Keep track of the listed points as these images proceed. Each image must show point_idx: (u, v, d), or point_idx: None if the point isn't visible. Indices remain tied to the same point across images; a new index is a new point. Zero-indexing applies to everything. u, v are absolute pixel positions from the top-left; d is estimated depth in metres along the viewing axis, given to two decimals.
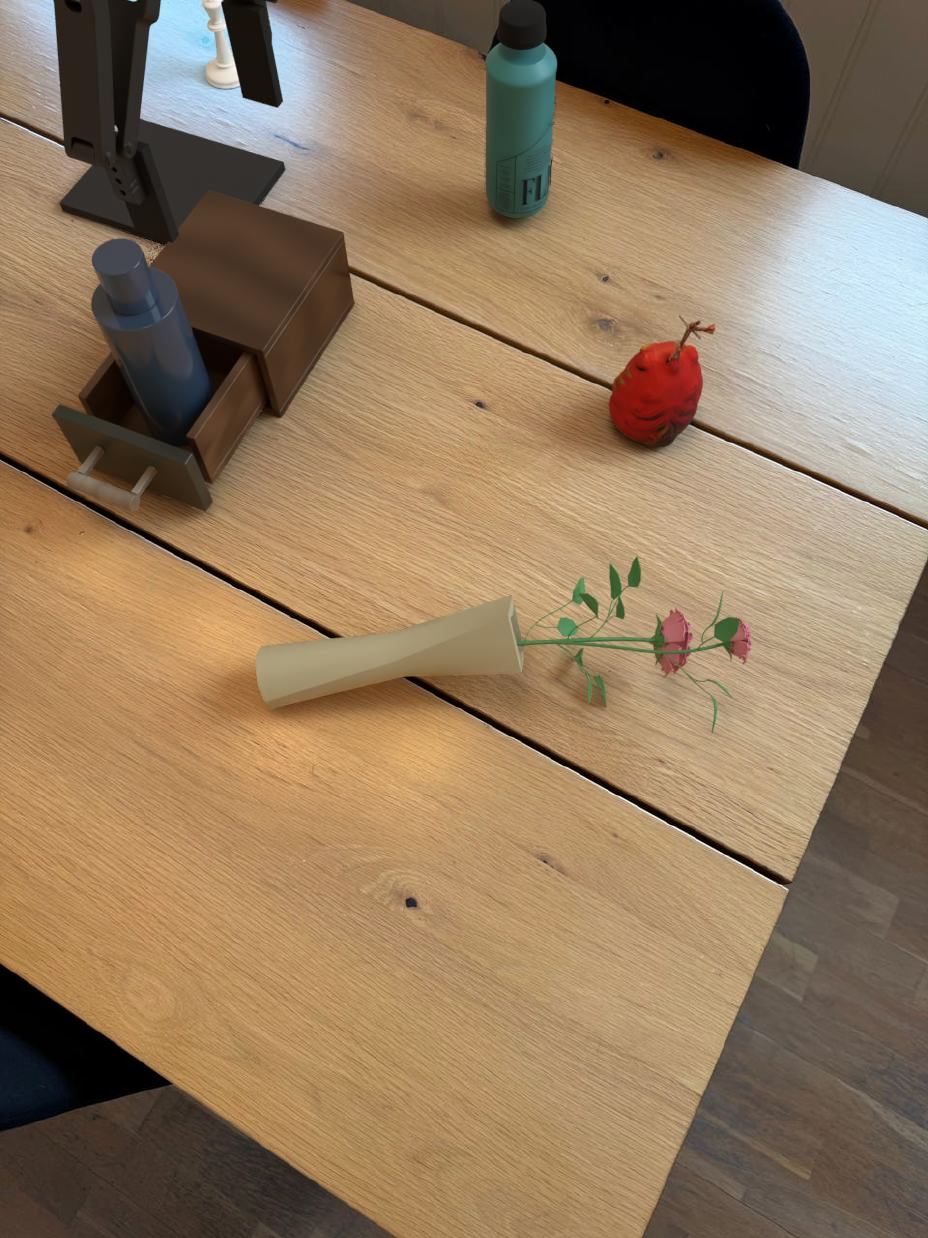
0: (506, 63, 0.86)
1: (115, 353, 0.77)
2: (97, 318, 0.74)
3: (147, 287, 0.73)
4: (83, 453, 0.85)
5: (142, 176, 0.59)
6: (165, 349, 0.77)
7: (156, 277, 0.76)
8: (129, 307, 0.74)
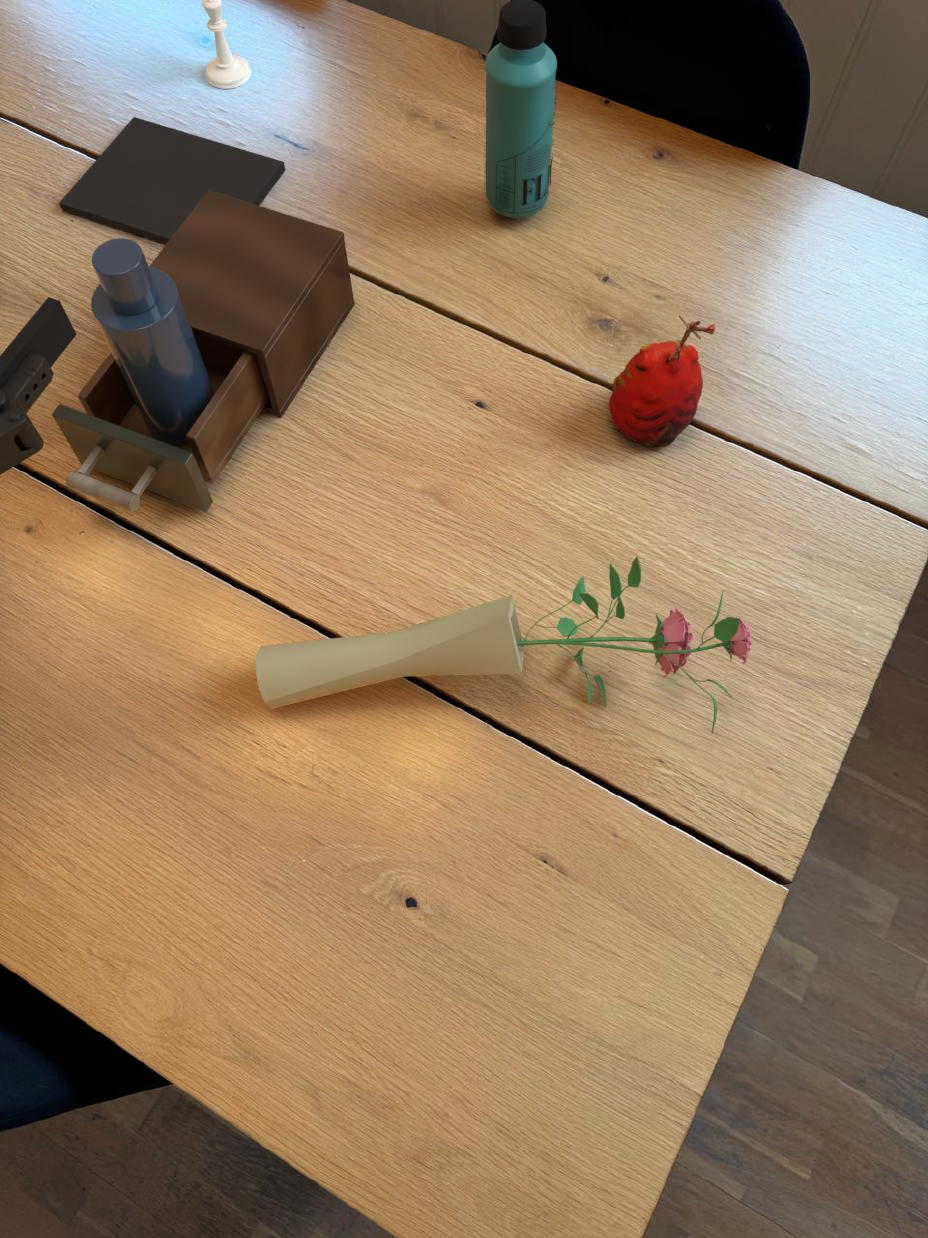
0: (506, 63, 0.86)
1: (115, 353, 0.77)
2: (97, 318, 0.74)
3: (147, 287, 0.73)
4: (83, 453, 0.85)
5: None
6: (165, 349, 0.77)
7: (156, 277, 0.76)
8: (129, 307, 0.74)
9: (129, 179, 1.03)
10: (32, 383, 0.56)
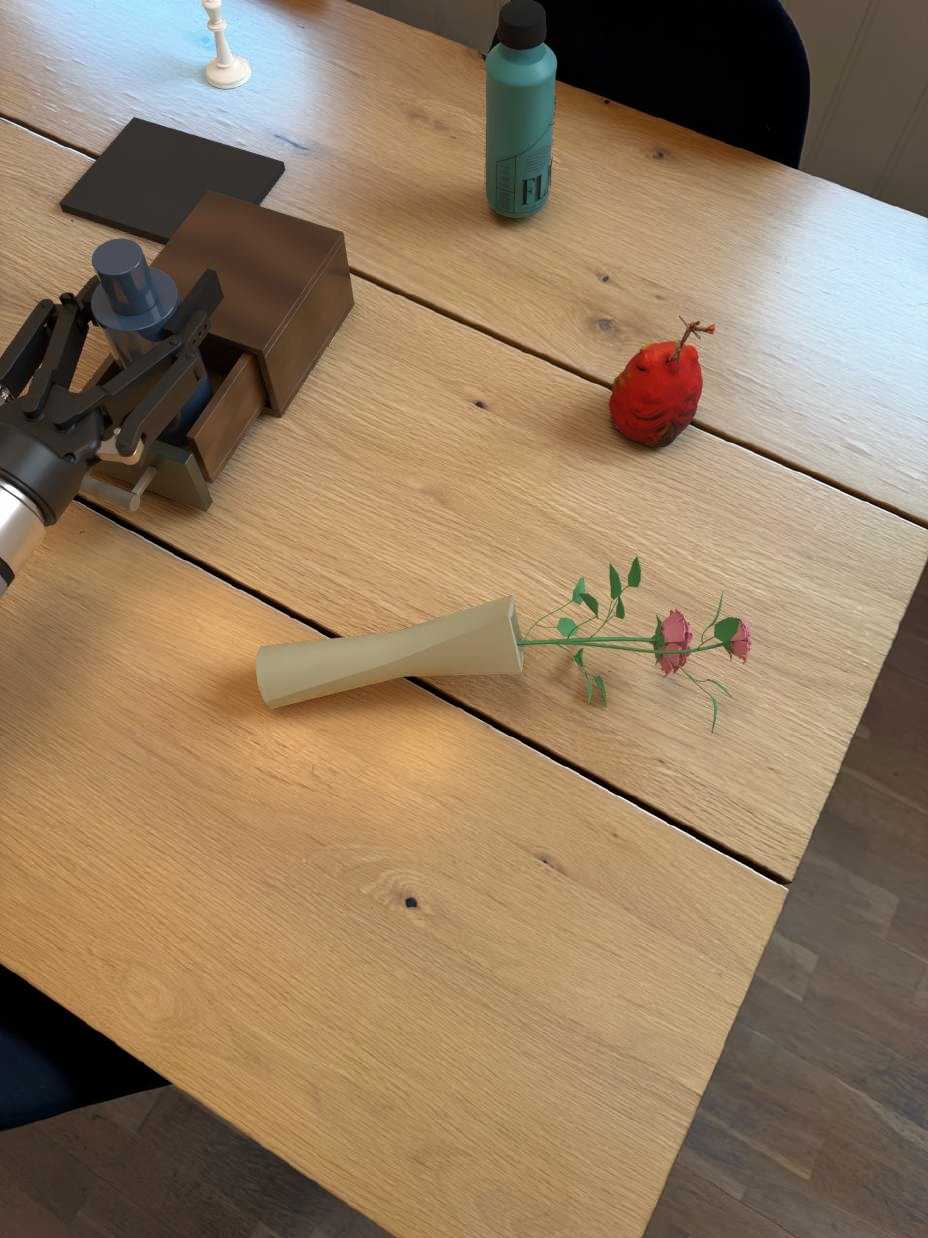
0: (506, 63, 0.86)
1: (115, 353, 0.77)
2: (97, 318, 0.74)
3: (147, 287, 0.73)
4: None
5: None
6: None
7: (156, 277, 0.76)
8: (129, 307, 0.74)
9: (129, 179, 1.03)
10: (198, 331, 0.76)
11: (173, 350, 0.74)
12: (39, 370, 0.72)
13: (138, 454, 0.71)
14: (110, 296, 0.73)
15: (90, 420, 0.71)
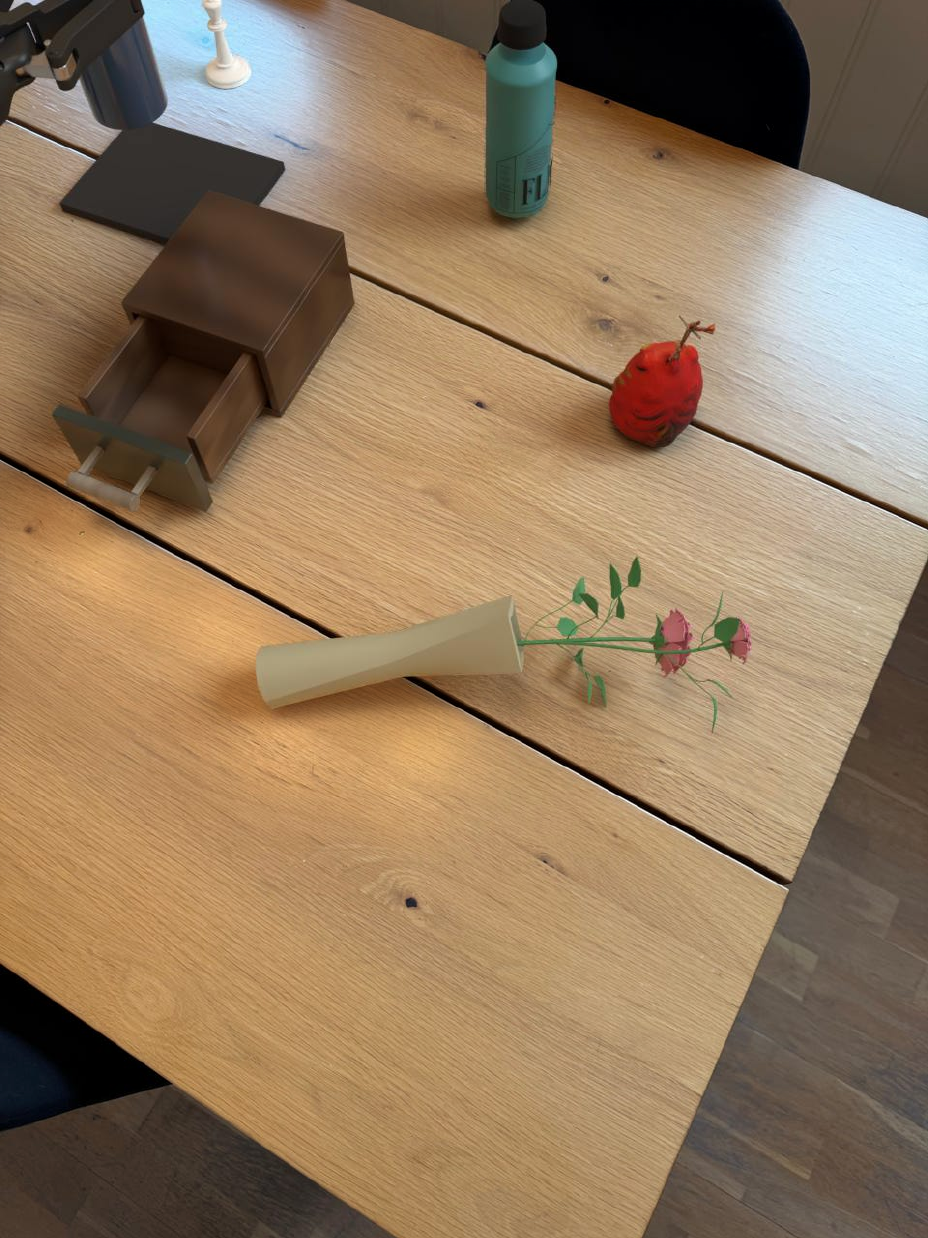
0: (506, 63, 0.86)
1: None
2: None
3: None
4: (83, 453, 0.85)
5: None
6: None
7: None
8: None
9: (129, 179, 1.03)
10: None
11: None
12: None
13: (70, 70, 0.69)
14: None
15: (20, 34, 0.69)
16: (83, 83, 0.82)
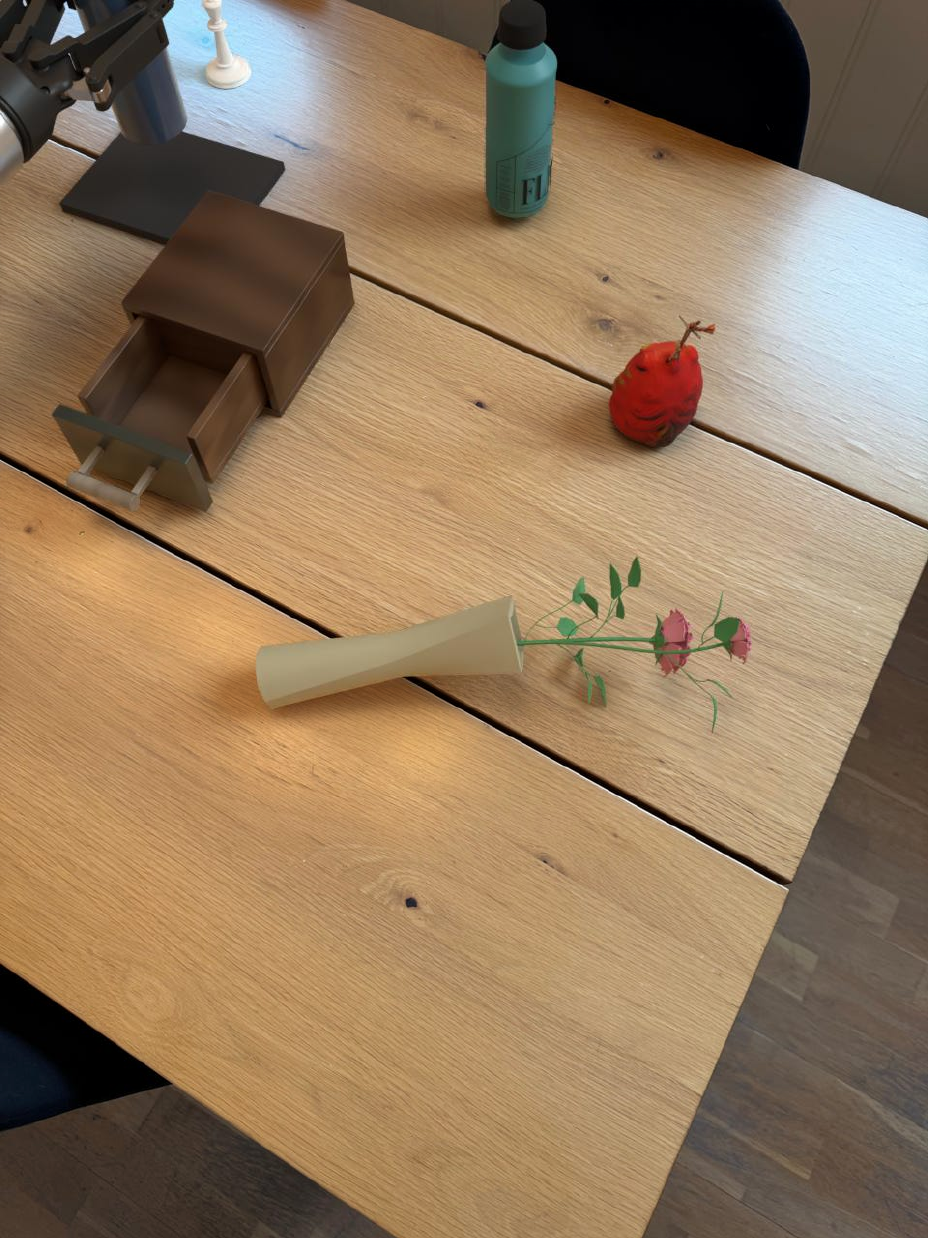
0: (506, 63, 0.86)
1: (88, 28, 0.86)
2: None
3: None
4: (83, 453, 0.85)
5: None
6: None
7: None
8: None
9: (129, 179, 1.03)
10: (162, 2, 0.84)
11: (138, 12, 0.82)
12: (18, 25, 0.81)
13: (106, 93, 0.80)
14: None
15: (63, 63, 0.80)
16: (113, 104, 0.92)
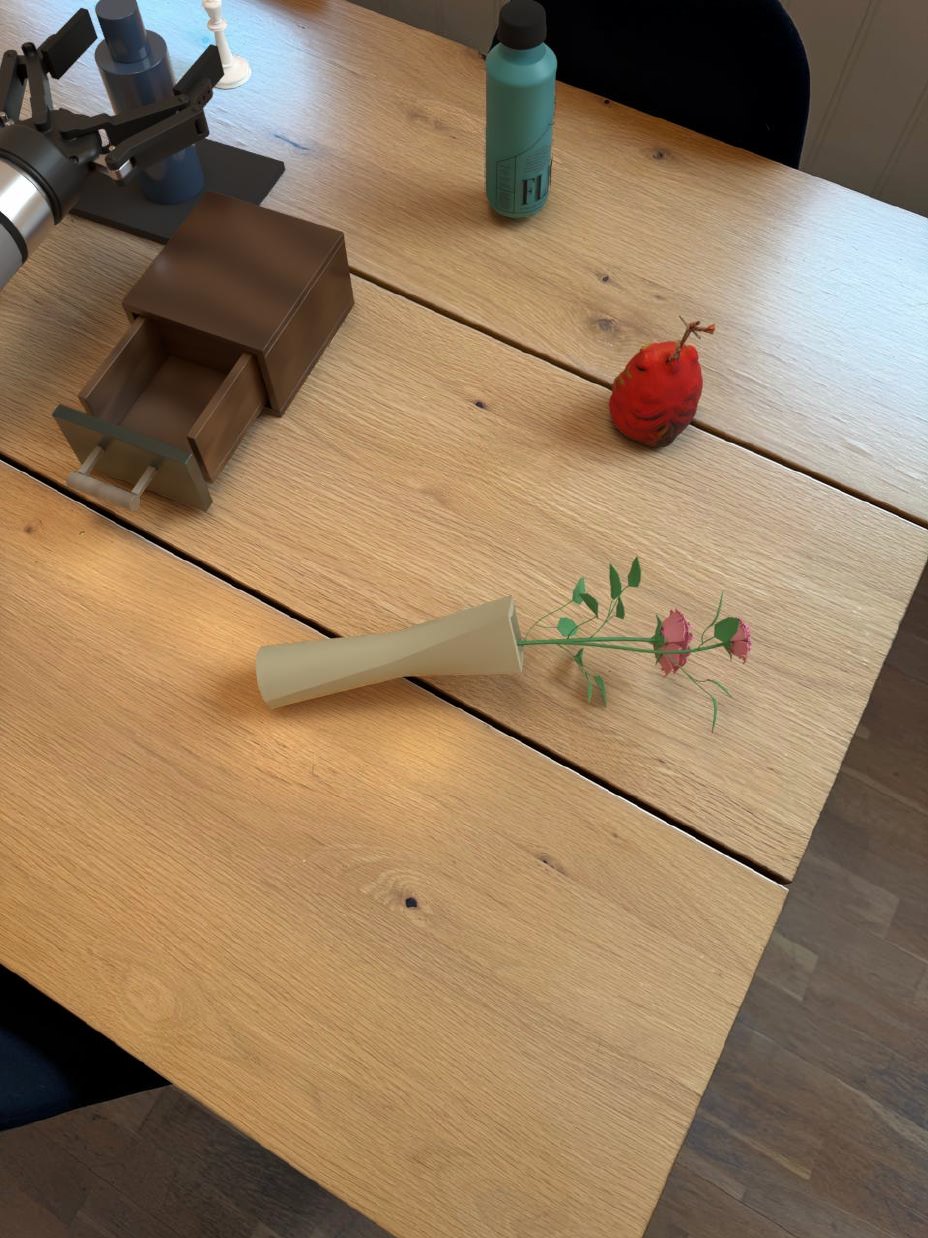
0: (506, 63, 0.86)
1: (114, 102, 0.92)
2: (99, 65, 0.89)
3: (141, 36, 0.88)
4: (83, 453, 0.85)
5: None
6: (156, 97, 0.91)
7: (149, 36, 0.91)
8: (126, 54, 0.88)
9: None
10: (202, 94, 0.88)
11: (178, 105, 0.87)
12: (33, 97, 0.87)
13: (123, 172, 0.85)
14: (110, 43, 0.88)
15: (90, 133, 0.85)
16: None
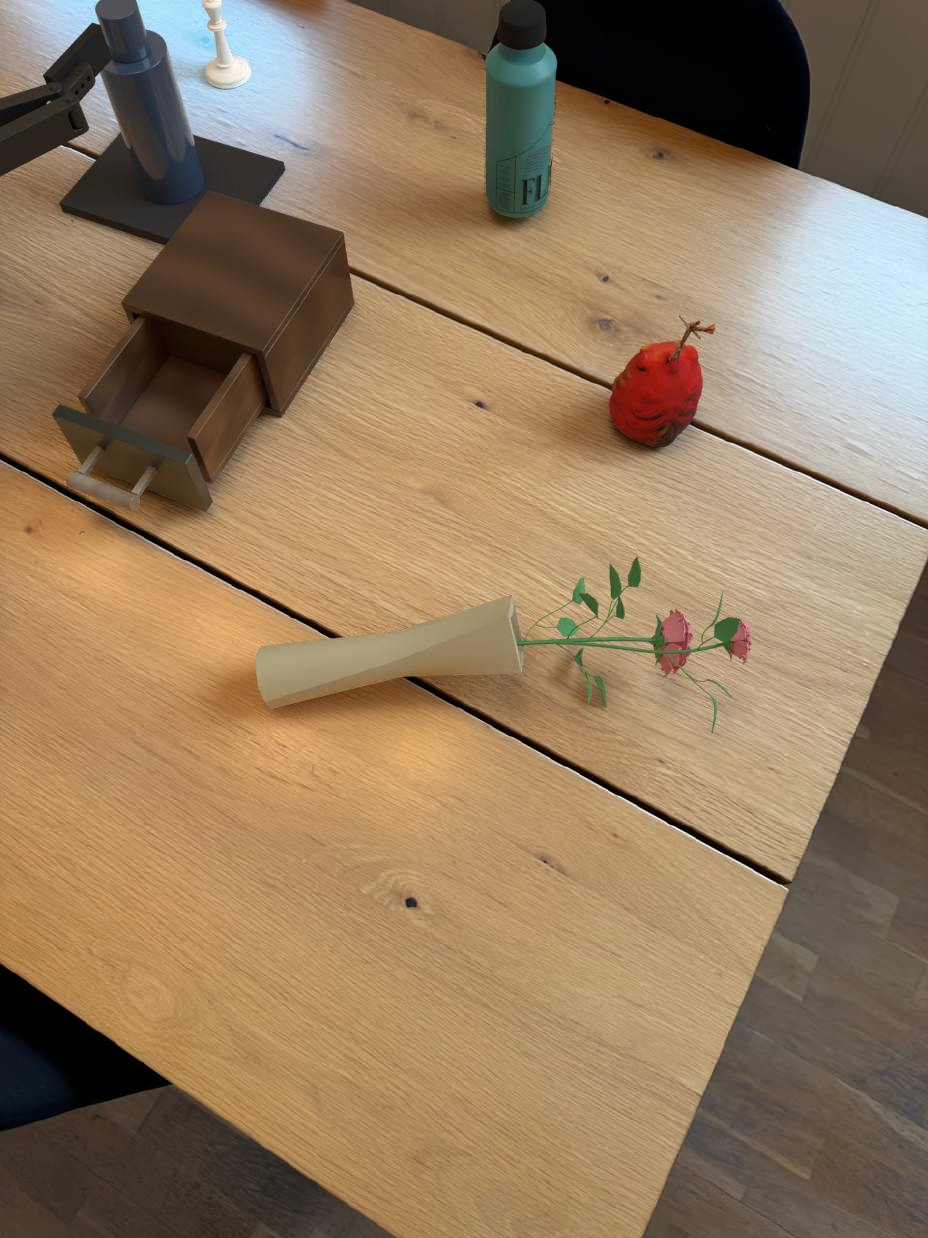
0: (506, 63, 0.86)
1: (114, 102, 0.92)
2: None
3: (141, 36, 0.88)
4: (83, 453, 0.85)
5: None
6: (156, 97, 0.91)
7: (149, 36, 0.91)
8: (126, 54, 0.88)
9: (129, 179, 1.03)
10: (80, 82, 0.75)
11: (48, 95, 0.73)
12: None
13: None
14: (110, 43, 0.88)
15: None
16: (136, 168, 0.98)
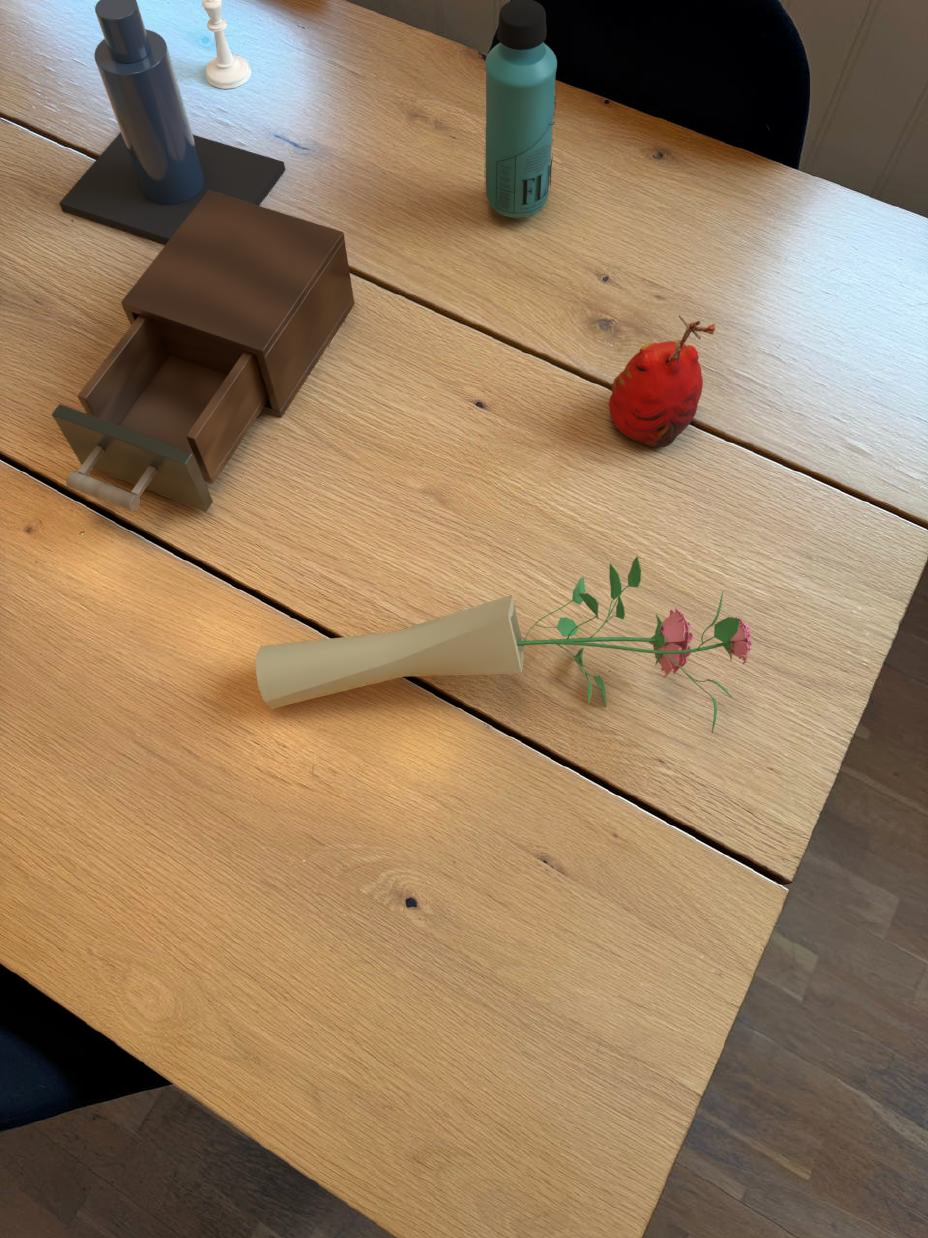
0: (506, 63, 0.86)
1: (114, 102, 0.92)
2: (99, 65, 0.89)
3: (141, 36, 0.88)
4: (83, 453, 0.85)
5: None
6: (156, 97, 0.91)
7: (149, 36, 0.91)
8: (126, 54, 0.88)
9: (129, 179, 1.03)
10: None
11: None
12: None
13: None
14: (110, 43, 0.88)
15: None
16: (136, 168, 0.98)
